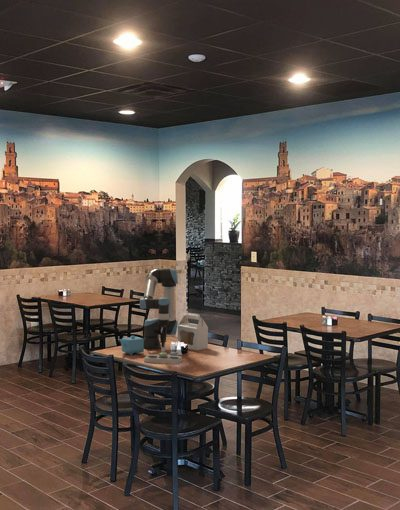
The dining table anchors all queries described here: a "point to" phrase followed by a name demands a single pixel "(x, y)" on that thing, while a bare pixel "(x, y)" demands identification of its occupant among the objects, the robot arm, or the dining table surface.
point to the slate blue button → (173, 353)
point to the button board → (163, 359)
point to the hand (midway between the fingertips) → (163, 351)
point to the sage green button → (162, 354)
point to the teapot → (132, 345)
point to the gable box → (198, 329)
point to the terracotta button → (152, 352)
